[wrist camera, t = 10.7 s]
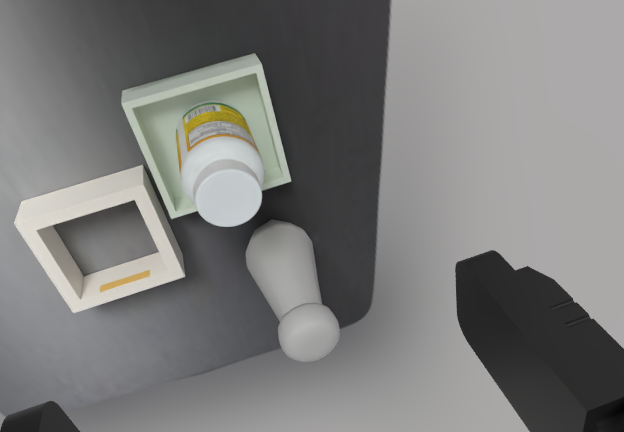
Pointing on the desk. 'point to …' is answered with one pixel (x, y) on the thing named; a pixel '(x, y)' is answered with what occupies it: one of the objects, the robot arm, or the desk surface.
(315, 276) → the salt shaker
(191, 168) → the supplement bottle
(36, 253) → the white square frame
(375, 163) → the desk surface
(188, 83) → the tray
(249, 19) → the desk surface
